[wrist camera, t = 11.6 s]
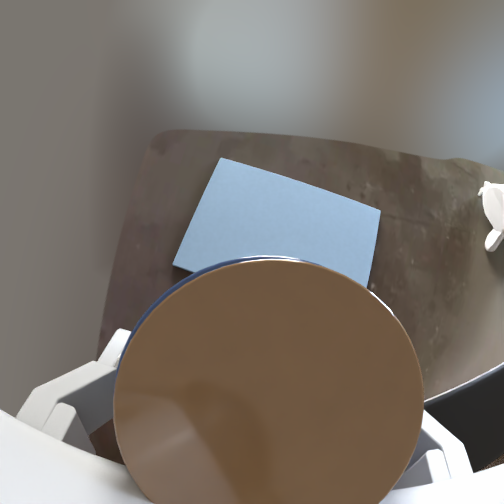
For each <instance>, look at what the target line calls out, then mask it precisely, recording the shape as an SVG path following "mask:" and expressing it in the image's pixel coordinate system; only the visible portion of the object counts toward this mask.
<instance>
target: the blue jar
mask: <svg viewBox="0 0 504 504" xmlns="http://www.w3.org/2000/svg"><path fill="white" fill-rule="evenodd" d="M423 413H424V387H423V378H422V373H421V369H420V365H419V361H418V357H417V355H416V352H415V350H414V347H413V345H412V342H411V340H410V338H409V336H408V335H407V333H406V331H405V329H404V328H403V326H402V324H401V323H400V322H399V320H398V319H397V318H396V316H395V315H394V314H393V313H392V311H391V310H390V309H389V308H388V307H387V306H386V305H385V304H384V303H383V302H382V301H381V300H380V299H379V298H378V297H377V296H376V295H374V294H373V293H372V292H371V291H369V290H368V289H367V288H365V287H364V286H363V285H361V284H359V283H358V282H356V281H354V280H352V279H351V278H349V277H347V276H345V275H343V274H341V273H339V272H336V271H334V270H331V269H329V268H327V267H324V266H322V265H319V264H317V263H313V262H309V261H305V260H302V259H297V258H290V257H283V256H252V257H242V258H237V259H232V260H228V261H224V262H220V263H217V264H214V265H212V266H209V267H206V268H204V269H201V270H199V271H197V272H195V273H194V274H192V275H190V276H188V277H186V278H184V279H182V280H181V281H180V282H178V283H177V284H175V285H174V286H172V287H171V288H170V289H168V290H167V291H166V292H165V293H164V294H162V295H161V296H160V297H159V298H158V299H157V300H156V301H155V302H154V303H153V304H152V305H151V306H150V307H149V308H148V310H147V311H146V312H145V313H144V314H143V316H142V317H141V318H140V319H139V321H138V322H137V324H136V326H135V327H134V329H133V330H132V332H131V334H130V335H129V337H128V339H127V342H126V344H125V346H124V348H123V351H122V353H121V356H120V359H119V363H118V367H117V370H116V375H115V382H114V390H113V419H114V427H115V433H116V438H117V443H118V446H119V449H120V452H121V455H122V458H123V460H124V462H125V464H126V467H127V469H128V471H129V473H130V474H131V476H132V478H133V480H134V481H135V482H136V484H137V485H138V487H139V488H140V490H141V491H142V493H143V494H144V495H145V496H146V497H147V498H148V499H149V500H150V502H152V503H154V504H379V503H380V502H381V501H382V500H383V499H384V498H385V497H386V496H387V495H388V494H389V492H390V491H391V490H392V489H393V487H394V486H395V485H396V483H397V482H398V481H399V479H400V478H401V476H402V474H403V473H404V471H405V469H406V467H407V466H408V464H409V462H410V460H411V457H412V455H413V453H414V450H415V448H416V445H417V442H418V438H419V435H420V431H421V427H422V420H423Z"/></svg>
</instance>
